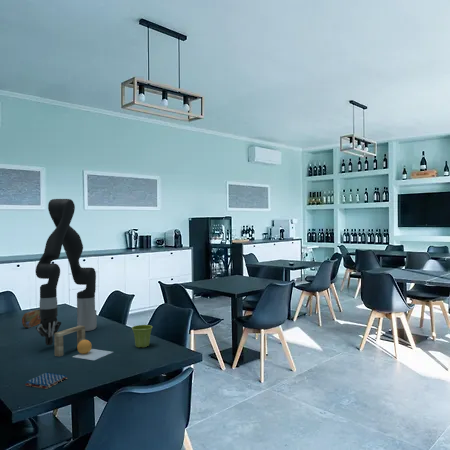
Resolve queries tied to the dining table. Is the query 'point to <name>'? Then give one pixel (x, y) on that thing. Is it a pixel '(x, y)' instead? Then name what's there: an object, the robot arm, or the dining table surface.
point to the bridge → (59, 335)
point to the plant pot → (142, 335)
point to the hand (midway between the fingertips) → (49, 344)
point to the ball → (84, 346)
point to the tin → (31, 319)
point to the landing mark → (93, 354)
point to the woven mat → (46, 380)
